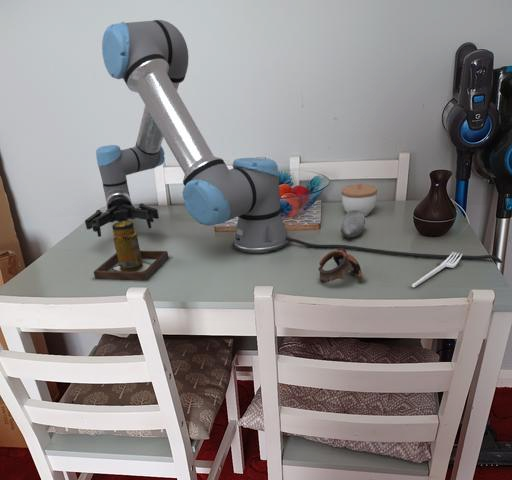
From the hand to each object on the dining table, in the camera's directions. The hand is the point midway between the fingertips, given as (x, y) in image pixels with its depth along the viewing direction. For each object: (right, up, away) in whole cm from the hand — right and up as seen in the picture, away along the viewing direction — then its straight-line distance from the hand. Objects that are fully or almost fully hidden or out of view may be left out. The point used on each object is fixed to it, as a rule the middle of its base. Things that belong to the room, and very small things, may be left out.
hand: (124, 227), depth 141 cm
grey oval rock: (+63, -1, +7) cm, 63 cm away
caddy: (+3, -11, -2) cm, 12 cm away
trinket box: (+67, +9, +22) cm, 71 cm away
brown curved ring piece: (+56, -16, -17) cm, 61 cm away
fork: (+78, -15, -19) cm, 81 cm away
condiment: (+3, -11, -2) cm, 12 cm away
